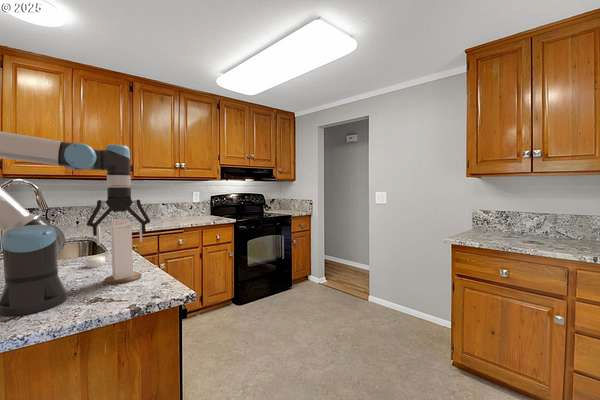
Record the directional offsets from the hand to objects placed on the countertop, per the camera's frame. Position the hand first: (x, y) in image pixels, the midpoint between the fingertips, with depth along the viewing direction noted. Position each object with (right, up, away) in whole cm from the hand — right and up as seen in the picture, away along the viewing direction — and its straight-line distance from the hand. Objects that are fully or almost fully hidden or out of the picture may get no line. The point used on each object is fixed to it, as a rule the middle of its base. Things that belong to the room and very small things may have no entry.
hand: (120, 243), depth 109 cm
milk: (0, -13, +1) cm, 13 cm away
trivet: (0, -14, +1) cm, 14 cm away
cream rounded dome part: (-23, -13, +19) cm, 32 cm away
